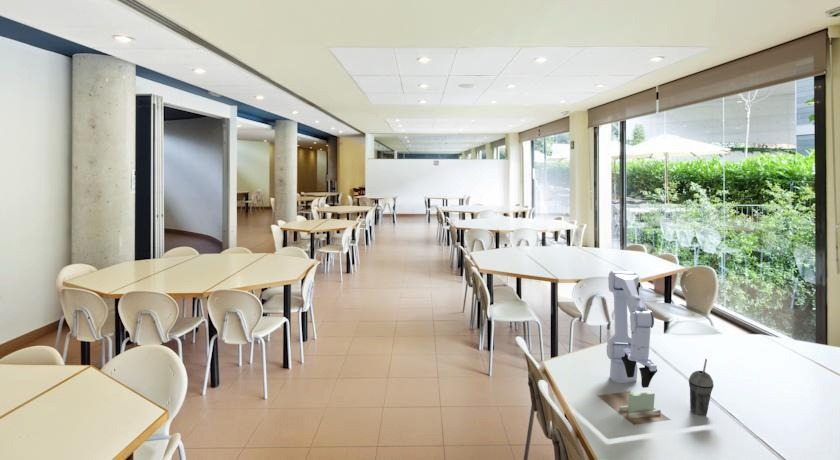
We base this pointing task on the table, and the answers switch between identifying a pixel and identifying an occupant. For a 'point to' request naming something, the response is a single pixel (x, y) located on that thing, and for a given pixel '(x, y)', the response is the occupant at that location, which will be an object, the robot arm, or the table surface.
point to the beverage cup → (700, 391)
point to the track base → (621, 406)
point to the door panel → (641, 401)
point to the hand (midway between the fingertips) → (637, 381)
